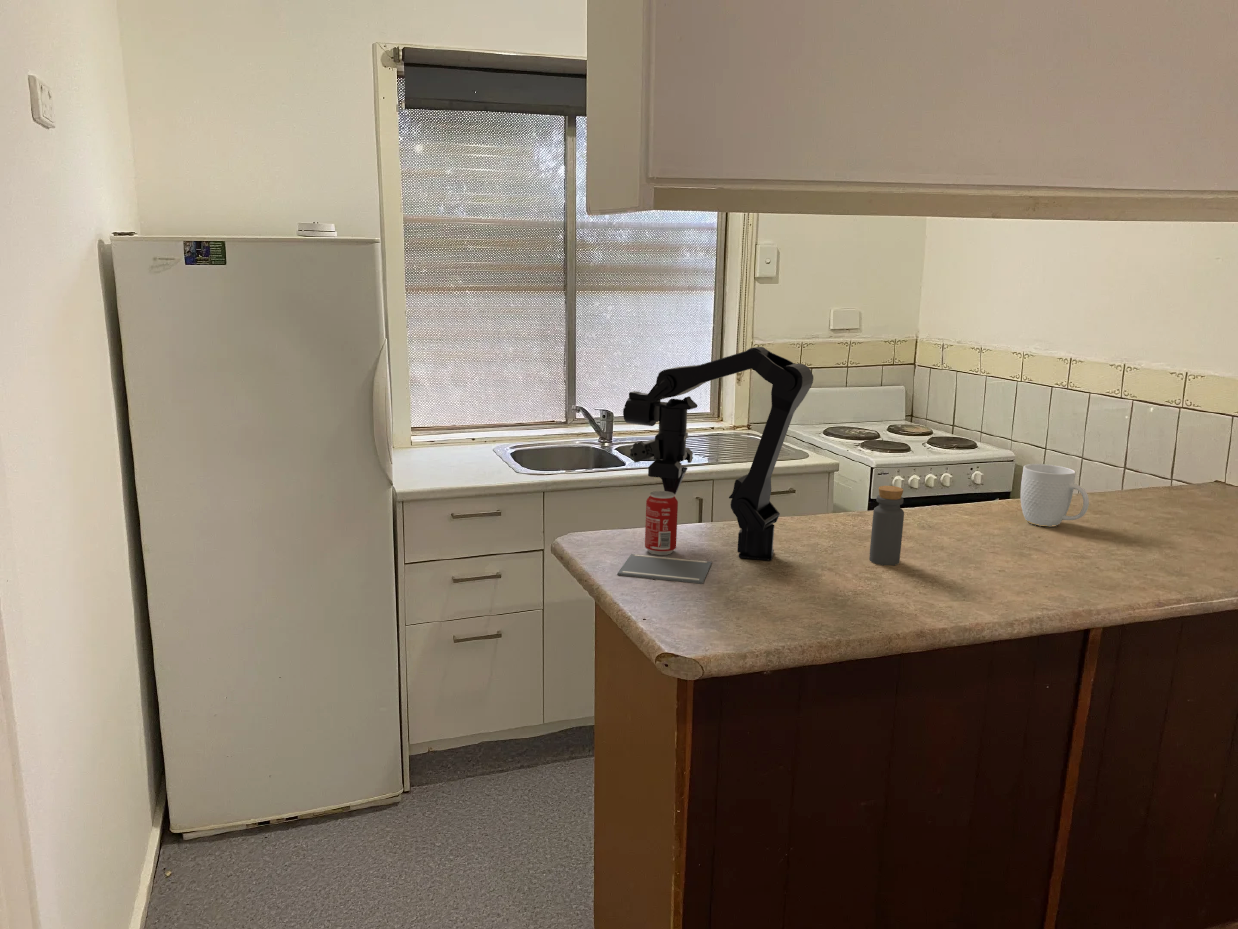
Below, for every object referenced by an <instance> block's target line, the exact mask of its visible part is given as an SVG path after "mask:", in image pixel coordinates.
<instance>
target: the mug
mask: <svg viewBox="0 0 1238 929" xmlns="http://www.w3.org/2000/svg"><path fill="white" fill-rule="evenodd" d="M1075 478H1076V471H1075V470H1074V469H1071V468H1069V467H1065V466H1061V465H1055V464H1046V463H1029V464H1028V463H1027V464H1025V465H1023V468H1022V475H1021V483H1020V495H1019V496H1020V506H1021V511H1022V515H1023V518H1024V519H1025V521H1026V520H1027V521H1030V522H1032V523H1035V524H1039V525H1047V526H1052V525H1058V524H1059V525H1060V524H1061V523H1062V522H1063V521H1075V520H1079V519H1081V518H1082V517H1084V516H1085V515H1086V513H1087V512H1088V509H1089V505H1090V500H1089V495H1088V493H1087V490H1086V489H1084V487H1082V486H1081V485H1080V484H1076V483H1075V482H1076V480H1075ZM1074 490H1076V491H1078V492H1079V493H1080V494H1081V496H1082V501H1083V505H1082V509H1081V511H1080V512H1079V513H1078V514H1075V515H1071V516H1070V515H1067V513H1068V511H1069V509H1070V506H1071V503H1072V499H1073V494H1074ZM1027 521H1026V522H1027ZM1059 525H1058V526H1059Z"/></svg>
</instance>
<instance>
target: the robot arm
mask: <svg viewBox="0 0 1238 929" xmlns="http://www.w3.org/2000/svg"><path fill="white" fill-rule="evenodd" d="M748 370H753V371H754V372H755V373H757V374H758V375H759V376H760V377H762V379H763V380H765V381H766V382H768V383H769V384H771V385H772V386H771V392H770V396H771V397H770V398H771V408H770V411H769V414H768V416H767V419H766V423H765V425H764V429H763V430H762V431H763V432H762V434H761V436H760V437H761V438H760V440H759V442H758V444H757V449H756V450H755V451H756V452H755V453H754V457H753V460H752V462H751V466H750V469H749V471H748V474H745V475H743V476H741V477H739V478H736V479H735V481H734V484H733V489H732V490H733V491H732V493H731V494H730V495H729V497H728V499H730V510H732V513H733V515H734V516H735V517H736V520H737V524H738V528H739V531H738V533H737V534H738V536H737V537H738V538H737V553H739V554H738V558H740V559H749V560H757V561H758V560H760V561H772V560H773V557H774V552H775V550H774V537H775V536H774V535H775V524H776V523H777V522H778V519H779V517H780V512H779V511H778V509H777V508H776V507H775V506H774V504H773V503H772V502H771V496H772V495H771V494H772V475H773V472H774V469H775V466H776V464H777V461H778V458H779V456H780V452H781V450H782V447H783V445H784V443H785V442H784V441H785V439H786V436H787V434H788V430H789V428H790V425H791V422H792V419H793V416H794V414H795V412H796V410H797V409H798V407H800V405H801V403H802V402H803V401H804V399H805V398H806V396H807V395H808V393H809V391H810V389H811V387H812V385H813V383H814V374H813V372H812V369H810V367H809V366H807V365H806V364H804V363H794V362H793V361H791V360H789V359H787V358H785V357H782V356H780V355H777V354H776V353H773V352H772V351H770V350H768V349H767V348H765V347H763V346H756V347H755V346H754V347H749V348H748V349H747V350H745V351H742V352H737V353H734V354H731V355H729V356H725V357H722V358H718V359H714V360H711V361H709V362H704V363H702V364H695V365H684V366H677V367H676V366H675V367H672V368H666V369H662V370H661V371H660V372H658V375H657V377H656V381H655V384H654V385H653V387H652V388H651V390H650V391H649V392H648V393H647V392H640V391H635V390H634V391H630V392H628V398H627V399H626V401H625V405H624V407H623V409H622V413H623V414H622V415H623V420H624V422H625V423H626V424H631V425H638V426H639V425H640V426H648V427H654V426H655V425H656V424H657V423H658V433H657V434H655V436H654V438H653V439H650V440H646V441H638V442H634V443H633V444H632V446H631V447H630V448H629V451H630V454H629V456H630V457H631V458H632V459H633V463H640V462H641V461H643V460H647V459H650V458H653V460H654V461H653V462H652V463H651V464H650V465H648V469H647V471H648V472H647V476H648V477H650V478H659V479H661V483H662V486H663V491H668V492H672V493H674V494H675V496H676V495H677V493H678V491H679V488H680V486H681V484H682V481H683V479H684V477H685V475H686V473H687V471H688V468H689V467H687V466H682V463H681V462H684V461H687V463H688V464H691V463H692V462H693V456H694V455H693V454H694V452H693V451H692V450H691V448H690V447H686V446H687V439H688V438H689V437H688V436H689V432H687V423H688V422H687V421H688V411H689V410H693V409H698V404H697V403H696V402H695V401H694V400H693V399H692V397H691V396H686V397H685V396H684V398H683V399H678V398H674V397H678V396H681V395H685V394H687V393H690V392H692V391H693V390H695V389H697V388H699V387H701V386H703V384H706V383H707V382H711V381H715V380H717V379H722V378H725V377H728V376H732V375H734V374H738V373H742V372H745V371H748ZM669 398H670V399H669ZM664 399H669V400H668V401H662V400H664Z"/></svg>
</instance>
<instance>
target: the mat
mask: <svg viewBox="0 0 1238 929" xmlns="http://www.w3.org/2000/svg"><path fill="white" fill-rule="evenodd" d="M711 566H712V561H708V560H700V559H699V560H698V559H687V558H677V557H668V556H660V555H647V554H636V553H630V555H629V556H628V558H627V559H626V560H625V562H624V563H623V565H622V566H621V567H620V569H619V570H618V572H617V576H623V577H633V578H635V577H636V578H642V579H653V580H665V581H672V582H681V583H682V582H683V583H690V584H691V583H693V584H703V585H704V582H705V580H706V578H707V574H708V572H709V570H710V568H711Z"/></svg>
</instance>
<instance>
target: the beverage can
mask: <svg viewBox="0 0 1238 929" xmlns="http://www.w3.org/2000/svg"><path fill="white" fill-rule="evenodd" d="M645 501H646V502H645V528H644V529H645V532H644V548H645V549H646V550H647V551H648V553H650V554H652V555H654V556H667V555H671V554H672V553H673V551H675V550H676V549H677V535H678V534H677V533H678V532H677V531H678V513H679V512H678V510H679V501H678V499H677V498H676V495H675V494H674V493H672V492H668V491H664V490H656V491H651V492H650V493H649V496H648V497H647V499H646V500H645Z"/></svg>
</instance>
